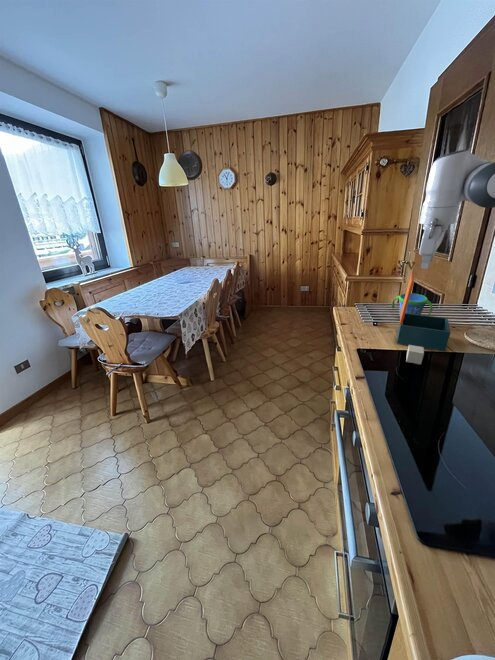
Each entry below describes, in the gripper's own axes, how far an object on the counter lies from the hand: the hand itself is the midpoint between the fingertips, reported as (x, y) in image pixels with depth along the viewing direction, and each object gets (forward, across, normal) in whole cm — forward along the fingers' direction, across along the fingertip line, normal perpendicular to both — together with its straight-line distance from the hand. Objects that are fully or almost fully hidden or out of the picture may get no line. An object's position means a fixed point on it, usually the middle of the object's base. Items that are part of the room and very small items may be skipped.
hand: (426, 264), depth 88 cm
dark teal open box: (+32, +11, -2) cm, 34 cm away
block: (+32, -5, -3) cm, 32 cm away
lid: (+15, +10, +4) cm, 19 cm away
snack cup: (+32, +29, +5) cm, 43 cm away
